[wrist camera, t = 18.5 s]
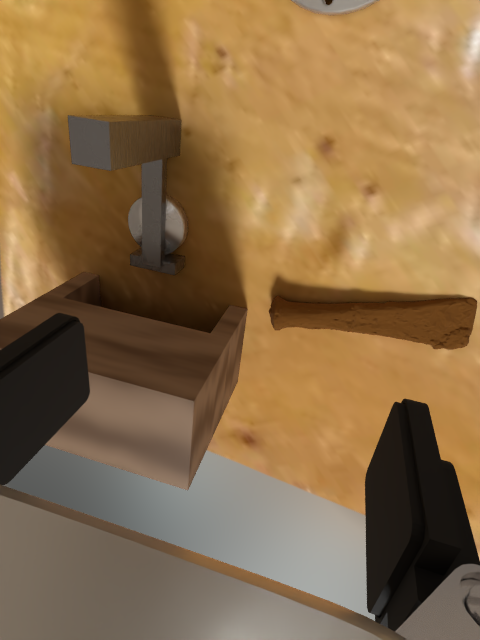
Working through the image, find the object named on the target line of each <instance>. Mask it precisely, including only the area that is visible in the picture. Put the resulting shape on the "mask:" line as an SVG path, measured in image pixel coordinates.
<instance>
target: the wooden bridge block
mask: <svg viewBox="0 0 480 640" xmlns="http://www.w3.org/2000/svg"><path fill="white" fill-rule="evenodd" d="M57 313H63V314H67V315H71V316H75V317H77V318H79V320H80V323H82V324H83V326H84V333H85V344H86V354H87V364H88V374H89V385H90V394H89V397H88V399H87V401H86V402H85V403H84V404H83V405H82V406H81V407H80V408H79V410H78V411H77V412H76V413H75V414H74V415H73V416H72V417H71V418H70V419H69V420H68V421H67V422H66V423H65V424H64V425H63V426H62V427H61V428H60V429H59V430H58V432H57V433H56V434H55V435H54V436H53V437H52V438H51V439H50V440H49V441H48V442H47V443H46V444H45V445H47V446H51V447H54V448H57V449H60V450H63V451H66V452H69V453H72V454H75V455H79V456H82V457H85V458H88V459H91V460H94V461H98V462H101V463H104V464H107V465H110V466H113V467H116V468H119V469H122V470H126V471H129V472H132V473H135V474H138V475H141V476H145V477H148V478H151V479H154V480H157V481H160V482H163V483H166V484H170V485H173V486H176V487H179V488H182V489H185V490H188V489H189V487H190V485H191V483H192V480H193V478H194V476H195V474H196V471H197V469H198V467H199V465H200V463H201V460H202V458H203V456H204V454H205V452H206V450H207V448H208V445H209V443H210V441H211V439H212V437H213V434H214V432H215V430H216V428H217V426H218V423H219V421H220V419H221V417H222V415H223V413H224V410H225V408H226V406H227V404H228V402H229V399H230V397H231V395H232V393H233V391H234V388H235V386H236V384H237V382H238V375H239V367H240V360H241V353H242V345H243V338H244V331H245V323H246V316H247V309H245V308H241V307H237V306H232V305H230V306H229V307H228V308H227V310H226V311H225V313H224V314H223V316H222V317H221V319H220V320H219V322H218V323H217V325H216V326H215V327H214V329H213V330H212V332H211V333H207V332H203V331H199V330H195V329H190V328H186V327H182V326H178V325H174V324H170V323H165V322H161V321H157V320H153V319H149V318H145V317H141V316H136V315H132V314H128V313H124V312H120V311H116V310H111V309H107V308H103V307H101V300H100V286H99V275H95V274H90V273H86V272H83V273H81V274H79V275H77V276H76V277H74V278H72V279H70V280H69V281H67V282H65V283H63V284H62V285H60V286H58V287H56V288H55V289H53V290H51V291H49V292H48V293H46V294H44V295H42V296H40V297H39V298H37V299H35V300H33V301H32V302H30V303H28V304H26V305H25V306H23V307H21V308H19V309H18V310H16V311H14V312H12V313H11V314H9V315H7V316H5V317H4V318H2V319H0V350H1V349H3V348H4V347H6V346H7V345H9V344H10V343H12V342H13V341H15V340H17V339H18V338H20V337H21V336H23V335H24V334H26V333H27V332H29V331H30V330H32V329H33V328H35V327H36V326H38V325H39V324H41V323H43V322H44V321H46V320H47V319H49V318H50V317H52V316H53V315H55V314H57Z"/></svg>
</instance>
